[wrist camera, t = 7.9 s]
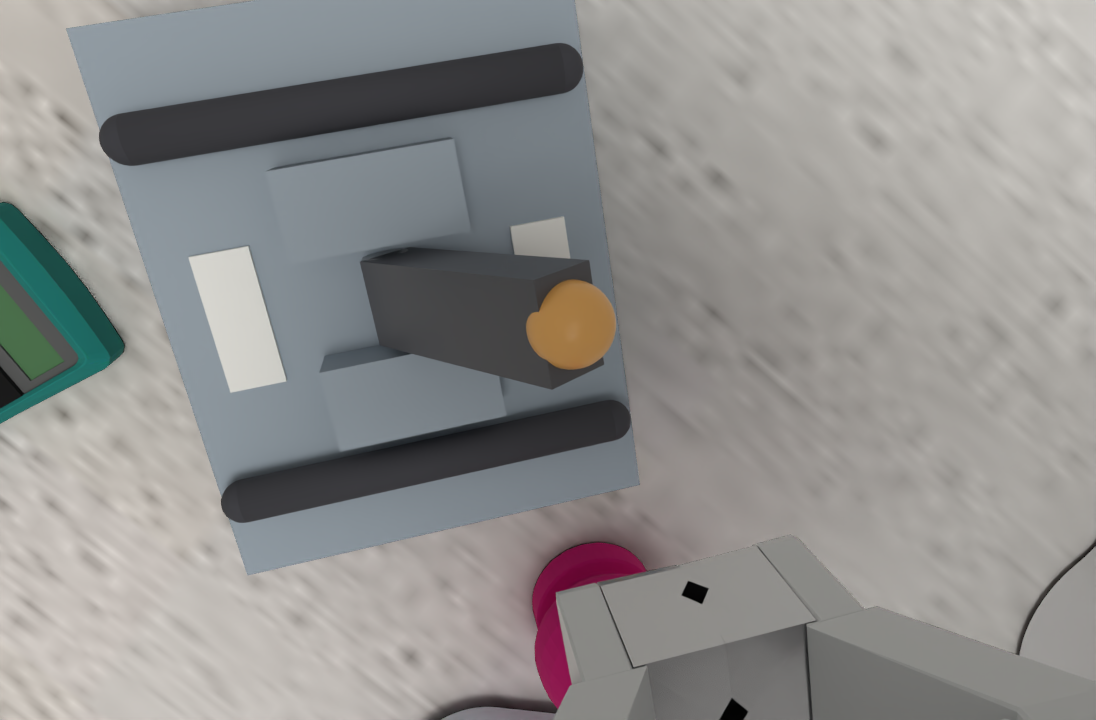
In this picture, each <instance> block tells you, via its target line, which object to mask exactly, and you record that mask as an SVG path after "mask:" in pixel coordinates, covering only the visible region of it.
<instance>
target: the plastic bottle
mask: <svg viewBox="0 0 1096 720" xmlns="http://www.w3.org/2000/svg"><path fill="white" fill-rule="evenodd" d="M554 716H555V713H546V712H536V711H527V710H517V709H508V708H499V707H477V708H471V709H466V710H462V711H459V712H456V713H454V714H451V715H449V716H447V717H445V718H443V719H441V720H553V718H554Z"/></svg>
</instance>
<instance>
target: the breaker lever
mask: <svg viewBox="0 0 1096 720" xmlns="http://www.w3.org/2000/svg"><path fill="white" fill-rule="evenodd" d="M360 265H361V270H362V274H363V278H364V282H365V286H366V290H367V295H368V299H369V303H370V307H371V311H372V315H373V319H374V324H375V328H376V332H377V336H378V340H379V344H380V346H384V347H388V348H391V349H395V350H399V351H403V352H407V353H411V354H415V355H419V356H423V357H426V358H430V359H434V360H438V361H442V362H446V363H450V364H454V365H457V366H461V367H465V368H469V369H473V370H477V371H481V372H485V373H489V374H492V375H496V376H500V377H504V378H508V379H512V380H516V381H520V382H524V383H527V384H531V385H535V386H539V387H543V388H547V389H551V390H553V389H555V388H557V387H559V386H561V385H563V384H565V383H567V382H569V381H571V380H573V379H576V378H578V377H580V376H582V375H584V374H586V373H588V372H590V371H592V370H594V369H596V368H598V367H600V366H602V365H604V359H603V356H604V355H605V353H606V352H607V351H608V349H609V348H610V346H611V344H612V342H613V340H614V336H615V332H616V317H615V313H614V309H613V307H612V304H611V303H610V301H609V299H608V298H607V297H606V295H605V294H604V293H603V292H602V291H601V290H600V289H598V288H597V287H595V286H594V285H593V282H592V275H591V269H590V262H589V260H582V259H568V258H554V257H541V256H527V255H513V254H499V253H485V252H471V251H457V250H443V249H429V248H415V247H408V248H400V249H391V250H385V251H380V252H376V253H372V254H369V255H367V256H364V257H363V258H362V261H360Z"/></svg>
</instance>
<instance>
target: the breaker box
mask: <svg viewBox="0 0 1096 720" xmlns="http://www.w3.org/2000/svg"><path fill="white" fill-rule="evenodd" d="M66 30H67V33H68V36H69V39H70V42H71V45H72V48H73V51H74V54H75V57H76V60H77V63H78V66H79V69H80V72H81V75H82V78H83V81H84V84H85V87H86V90H87V93H88V96H89V99H90V102H91V105H92V108H93V111H94V114H95V117H96V120H97V123H98V126H99V129H101V126H102V125H103V123H104V122H105V121H106V120H107V119H108V118H109V117H111V116H113V115H116V114H120V113H127V112H133V111H139V110H145V109H151V108H158V107H164V106H170V105H176V104H182V103H189V102H195V101H201V100H207V99H213V98H220V97H226V96H232V95H238V94H244V93H250V92H257V91H263V90H269V89H275V88H281V87H288V86H294V85H300V84H306V83H312V82H319V81H325V80H331V79H337V78H343V77H350V76H356V75H362V74H368V73H374V72H381V71H387V70H393V69H399V68H405V67H411V66H418V65H424V64H430V63H436V62H442V61H449V60H455V59H461V58H467V57H473V56H480V55H486V54H492V53H498V52H504V51H511V50H517V49H523V48H529V47H535V46H542V45H548V44H554V43H564V44H568V45H570V46H572V47H573V48H575V49H576V50H577V51H578V53H579V54H580V56H581V58H582V52H581V44H580V37H579V29H578V22H577V14H576V7H575V0H254V1H248V2H241V3H234V4H228V5H221V6H214V7H207V8H201V9H194V10H187V11H180V12H174V13H167V14H160V15H153V16H147V17H140V18H133V19H126V20H120V21H113V22H106V23H99V24H93V25H86V26H79V27H72V28H66ZM582 61H583V59H582ZM109 159H110V163H111V166H112V169H113V172H114V175H115V178H116V181H117V184H118V187H119V190H120V193H121V196H122V199H123V202H124V205H125V208H126V211H127V214H128V217H129V220H130V223H131V226H132V229H133V232H134V235H135V238H136V241H137V244H138V247H139V250H140V253H141V256H142V259H143V262H144V265H145V268H146V271H147V274H148V277H149V280H150V283H151V286H152V289H153V292H154V295H155V298H156V301H157V304H158V307H159V310H160V313H161V316H162V319H163V322H164V325H165V328H166V331H167V334H168V337H169V340H170V343H171V346H172V349H173V352H174V355H175V358H176V361H177V364H178V367H179V370H180V373H181V376H182V379H183V382H184V385H185V388H186V391H187V394H188V397H189V400H190V403H191V406H192V409H193V412H194V415H195V418H196V421H197V424H198V427H199V430H200V433H201V436H202V439H203V442H204V445H205V448H206V452H207V455H208V458H209V461H210V464H211V467H212V470H213V473H214V476H215V479H216V482H217V485H218V488H219V491H220V494H221V497H222V495H223V493H224V491H225V489H226V488H227V487H228V486H229V485H230V484H231V483H233V482H235V481H237V480H241V479H245V478H250V477H254V476H259V475H264V474H268V473H273V472H277V471H282V470H287V469H291V468H296V467H300V466H305V465H310V464H314V463H319V462H324V461H328V460H333V459H337V458H342V457H347V456H351V455H356V454H360V453H365V452H370V451H374V450H379V449H383V448H388V447H393V446H397V445H402V444H406V443H411V442H416V441H420V440H425V439H430V438H434V437H439V436H443V435H448V434H453V433H457V432H462V431H466V430H471V429H476V428H480V427H485V426H489V425H494V424H499V423H503V422H508V421H512V420H517V419H522V418H526V417H531V416H536V415H540V414H545V413H549V412H554V411H559V410H563V409H568V408H572V407H577V406H582V405H586V404H591V403H595V402H600V401H605V400H615V401H618V402H620V403H622V404H623V405H625V406H626V408H627V409H628V411H629V413H630V408H629V400H628V393H627V385H626V378H625V371H624V363H623V356H622V348H621V341H620V334H619V326H618V319H617V311H616V304H615V296H614V289H613V282H612V274H611V267H610V259H609V252H608V244H607V237H606V230H605V222H604V215H603V207H602V200H601V193H600V185H599V178H598V170H597V163H596V155H595V148H594V141H593V133H592V126H591V118H590V111H589V103H588V96H587V89H586V81H585V74H584V66H583V75H582V78H581V80H580V82H579V84H578V85H577V86H576V87H575V88H574V89H572V90H571V91H569V92H566V93H563V94H557V95H551V96H545V97H539V98H533V99H527V100H521V101H515V102H509V103H503V104H498V105H492V106H486V107H480V108H474V109H468V110H462V111H456V112H450V113H444V114H438V115H433V116H427V117H421V118H415V119H409V120H403V121H397V122H391V123H385V124H379V125H373V126H368V127H362V128H356V129H350V130H344V131H338V132H332V133H326V134H320V135H314V136H308V137H303V138H297V139H291V140H285V141H279V142H273V143H267V144H261V145H255V146H249V147H243V148H238V149H232V150H226V151H220V152H214V153H208V154H202V155H196V156H190V157H184V158H178V159H173V160H167V161H161V162H155V163H149V164H143V165H137V166H127V165H122V164H119V163H117V162H115V161H113V160H112V159H111V158H109ZM408 247H415V248H429V249H443V250H457V251H471V252H485V253H499V254H513V255H527V256H541V257H554V258H568V259H582V260H589V262H590V269H591V275H592V282H593V285H594V286H595V287H597V288H598V289H600V290H601V291H602V292H603V293H604V294H605V295H606V297H607V298H608V299H609V301H610V303H611V304H612V307H613V309H614V313H615V317H616V332H615V336H614V340H613V342H612V344H611V346H610V348H609V349H608V351H607V352H606V353H605V355H604V356H603V359H604V365H602V366H600V367H598V368H596V369H594V370H592V371H590V372H588V373H586V374H584V375H582V376H580V377H578V378H576V379H573V380H571V381H569V382H567V383H565V384H563V385H561V386H559V387H557V388H555V389H553V390H551V389H547V388H543V387H539V386H535V385H531V384H527V383H524V382H520V381H516V380H512V379H508V378H504V377H500V376H496V375H492V374H489V373H485V372H481V371H477V370H473V369H469V368H465V367H461V366H457V365H454V364H450V363H446V362H442V361H438V360H434V359H430V358H426V357H423V356H419V355H415V354H411V353H407V352H403V351H399V350H395V349H391V348H388V347H384V346H380V344H379V340H378V336H377V332H376V328H375V324H374V319H373V315H372V311H371V307H370V303H369V299H368V295H367V290H366V286H365V282H364V278H363V274H362V270H361V265H360V261H362V258H363V257H364V256H367V255H369V254H372V253H376V252H380V251H385V250H391V249H400V248H408ZM630 416H631V415H630ZM637 485H640V482H639V475H638V467H637V460H636V452H635V445H634V437H633V430H632V423H631V425H630V428H629V430H628V432H627V433H626V435H624V436H623V437H622V438H620V439H618V440H615V441H610V442H606V443H601V444H597V445H593V446H588V447H584V448H579V449H575V450H570V451H566V452H561V453H557V454H552V455H548V456H543V457H539V458H534V459H530V460H525V461H521V462H516V463H512V464H507V465H503V466H499V467H494V468H490V469H485V470H481V471H476V472H472V473H467V474H463V475H458V476H454V477H449V478H445V479H440V480H436V481H431V482H427V483H422V484H418V485H413V486H409V487H405V488H400V489H396V490H391V491H387V492H382V493H378V494H373V495H369V496H364V497H360V498H355V499H351V500H346V501H342V502H337V503H333V504H328V505H324V506H319V507H315V508H311V509H306V510H302V511H297V512H293V513H288V514H284V515H279V516H275V517H270V518H266V519H261V520H257V521H252V522H247V523H238V522H235V521H233V520H231V519H229V521H230V524H231V527H232V530H233V533H234V536H235V539H236V542H237V545H238V548H239V551H240V554H241V557H242V560H243V563H244V566H245V569H246V572H247V575H251V574H256V573H260V572H264V571H269V570H273V569H277V568H282V567H286V566H290V565H295V564H299V563H303V562H308V561H312V560H316V559H321V558H325V557H329V556H334V555H338V554H342V553H347V552H351V551H355V550H360V549H364V548H368V547H373V546H377V545H381V544H386V543H390V542H394V541H399V540H403V539H407V538H412V537H416V536H420V535H425V534H429V533H433V532H438V531H442V530H446V529H451V528H455V527H459V526H464V525H468V524H472V523H477V522H481V521H485V520H490V519H494V518H498V517H503V516H507V515H511V514H516V513H520V512H524V511H528V510H533V509H537V508H541V507H546V506H550V505H554V504H559V503H563V502H567V501H572V500H576V499H580V498H585V497H589V496H593V495H598V494H602V493H606V492H611V491H615V490H619V489H624V488H628V487H632V486H637Z"/></svg>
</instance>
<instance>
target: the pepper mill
mask: <svg viewBox="0 0 1096 720" xmlns="http://www.w3.org/2000/svg"><path fill="white" fill-rule="evenodd" d="M642 572H646V569H645V567H644V566H643V564H642V563H641V562H640V560H639V559H638V558H637V557H636V556H635V555H633V554H632V553H631V552H630V551H628V550H626V549H624V548H622V547H620V546H617V545H613V544H608V543H599V542H598V543H590V544H583V545H579V546H577V547H574V548H571V549H569V550H566V551H565V552H563V553H562V554H560V555H559V556H558V557H556V558H555V559H553V560H552V561H551V562H550V563H549V565H548V566H547V567H546V568H545V569H544V570H543V571H542V573H541V575H540V576H539V578H538V580H537V583H536V585H535V588H534V592H533V598H532V606H533V612H534V616H535V620H536V624H537V628H538V632H537V636H536V641H535V661H536V665H537V670H538V673H539V676H540V678H541V681H542V684H543V686H544V688H545V690H546V692H547V694H548V696H549V698H550V699H551V701H552V702H553V703H554V705H555V706H556V707H557V709H558V708H559V706H560V704H561V702H562V700H563V698H564V696H565V694H566V692H567V690H568V688H569V686H571V685H572V682H571V678H570V673H569V668H568V662H567V657H566V652H565V646H564V641H563V636H562V630H561V625H560V620H559V614H558V609H557V604H556V592H559V591H563V590H567V589H571V588H575V587H579V586H584V585H588V584H592V583H596V584H597V582H601V581H605V580H610V579H614V578H619V577H624V576H628V575H633V574H637V573H642Z"/></svg>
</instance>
